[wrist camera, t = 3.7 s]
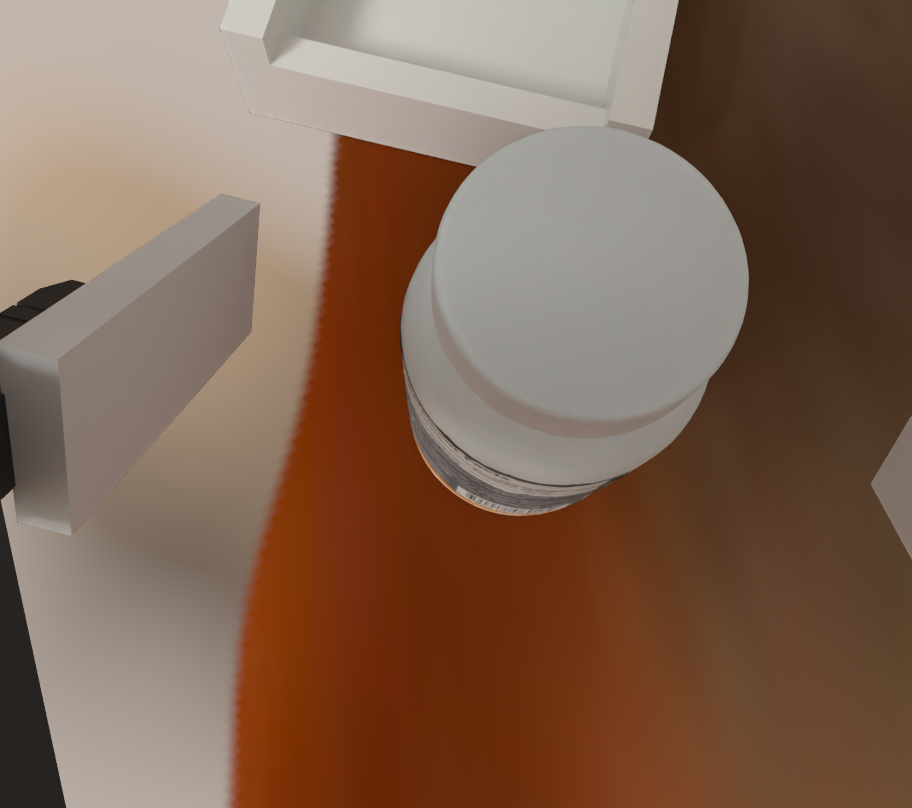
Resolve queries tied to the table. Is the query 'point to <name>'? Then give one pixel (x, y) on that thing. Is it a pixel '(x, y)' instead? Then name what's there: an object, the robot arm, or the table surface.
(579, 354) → the pill bottle
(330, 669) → the table surface
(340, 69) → the pusher lane
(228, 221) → the robot arm
